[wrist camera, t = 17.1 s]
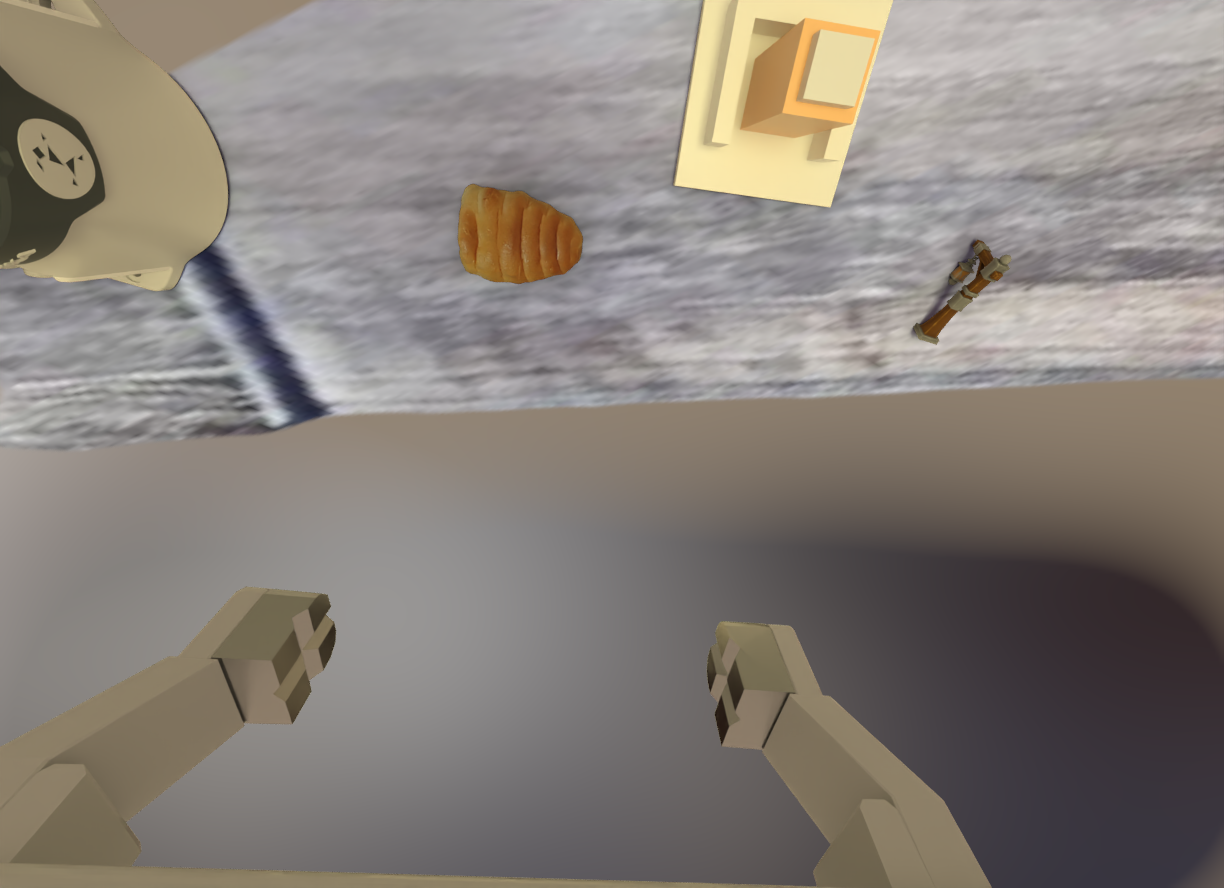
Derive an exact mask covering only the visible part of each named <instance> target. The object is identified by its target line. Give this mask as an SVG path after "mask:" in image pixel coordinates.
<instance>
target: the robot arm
mask: <svg viewBox="0 0 1224 888" xmlns="http://www.w3.org/2000/svg"><path fill="white" fill-rule="evenodd" d="M51 2H52V3H53V4H54V7H55V10H53V9H51ZM227 205H228V185H227V177H226V172H225V168H224V164H223V160H222V157H221V154H220V151H219V149H218V146H217V144H216V141H215V139H214V137H213V135H212V133H211V131H210V129H209V127H208V125H207V123H206V122H205V120H204V118H203V117H202V115H201V114H200V112H199V111H198V109H197V108H196V106H195V105H194V103H193V102H192V101H191V99H190V98H189V97H188V96H187V94H186V93H185V92H184V91H183V90H182V89H181V87H180V86H179V85H178V84H177V83H176V82H175V81H174V80H173V79H172V78H171V77H170V76H169V75H168V74H167V73H166V72H165V71H164V70H163V69H162V68H160V67H159V66H158V65H157V64H156V63H155V62H153V61H152V60H151V59H149V58H148V57H147V56H146V55H144V54H143V53H142V52H140V51H139V50H138V49H136V48H135V47H134V46H133V45H131V44H130V43H129V42H128V41H127V40H126V39H125V38H124V37H122V36H121V35H120V33H119V32H118V31H117V29H116V28H115V27H114V25H113V24H112V23H111V21H110V20H109V19H108V18H107V16H106V15H105V14H104V13H103V11H102V10H101V9H100V8H99V6H98V5H97V4H96V2H95V1H94V0H0V269H12V268H19V267H21V268H23V270H24V273H25V274H26V275H28V276H31V277H38V278H50V277H54V278H55V279H56V280H57V281H59V282H78V281H86V280H95V279H103V278H111V279H114V280H117V281H121V282H124V283H128V284H131V285H135V286H138V287H142V288H145V289H149V290H153V291H162V290H170V289H172V288H173V287H174V286H175V285H176V284H177V282H178V280H179V279H180V276H181V274H182V271H183V269H184V266H185V264H186V263H187V262H188V261H189V260H190V259H191V258H193V257H194V256H196V255H197V254H199V253H200V252H202V251H203V250H205V249H206V248H207V247H208V246H209V245H210V244H211V243H212V242H213V241H214V240H215V238H216V237H217V235H218V234H219V232H220V230H221V228H222V226H223V223H224V220H225V216H226V212H227ZM330 607H331V605H330V602H329V598H328V595H326V594H321V593H311V592H301V591H290V590H280V589H267V588H256V587H245V588H243V589H240V590H239V591H237V592H236V593H235V594H234V595H233V596H232V597H231V598H230V599H229V600H228V601H227V603H226V604H225V605H224V606H223V607H222V608H221V609H220V610H219V611H218V613H217V614H216V615H215V616H214V617H213V618H212V619H211V620H210V621H209V623H208V624H207V625H206V626H205V627H204V628H203V629H202V630H201V631H200V633H199V634H198V635H197V636H196V637H195V638H194V639H193V640H192V641H191V642H190V644H189V645H188V646H187V647H186V648H185V649H184V650H183V651H182V652H181V654H180V655H179V656H178V657H173V656H169V657H167V658H165V659H163V660H161V661H159V662H158V663H156V664H154V665H152V666H151V667H148V668H146V669H145V670H143V671H141V672H139V673H137V674H135V675H133V676H132V677H130V678H128V679H126V680H124V681H122V682H120V683H119V684H117V685H115V686H113V687H111V688H109V689H107V690H105V691H104V692H102V693H100V694H98V695H96V696H94V697H92V698H91V699H89V700H87V701H85V702H83V703H81V704H79V705H77V706H76V707H74V708H72V709H70V710H68V711H66V712H64V713H63V714H61V715H59V716H57V717H55V718H53V719H51V720H50V721H48V722H46V723H44V724H42V725H40V726H39V727H37V728H35V729H33V730H31V731H29V732H27V733H25V734H24V735H22V736H20V737H18V738H16V739H14V740H12V741H10V742H9V743H7V744H5V745H3V746H1V747H0V888H992V887H991V886H990V884H989V882H988V880H987V878H986V877H985V875H984V873H983V871H982V869H981V867H980V866H979V864H978V862H977V860H976V858H975V857H974V855H973V853H972V851H971V849H970V847H969V846H968V844H967V842H966V841H965V838H964V837H963V835H962V833H961V831H960V829H959V828H958V826H957V824H956V822H955V821H954V819H953V817H952V815H951V813H950V811H949V810H948V808H947V806H946V804H945V802H944V801H943V800H942V799H941V798H940V797H939V796H938V795H937V794H936V793H935V792H934V791H932V790H931V789H930V788H929V787H928V786H927V785H926V784H925V783H924V782H923V781H922V780H921V779H919V778H918V777H917V776H916V775H915V774H914V773H913V772H912V771H911V770H910V769H908V768H907V767H906V766H905V765H904V764H903V763H902V762H901V761H900V760H899V759H898V758H896V757H895V756H894V755H893V754H892V753H891V752H890V751H889V750H888V749H887V748H886V747H885V746H883V745H882V744H881V743H880V742H879V741H878V740H877V739H876V738H875V737H874V736H872V735H871V734H870V733H869V732H868V731H867V730H866V729H865V728H864V727H863V726H862V725H861V724H860V723H858V722H857V721H856V720H855V719H854V718H853V717H852V716H851V715H850V714H849V713H847V712H846V711H845V710H844V709H843V708H842V707H841V706H840V705H839V704H838V703H837V702H835V701H834V700H833V699H832V698H831V697H830V696H823V695H822V693H821V690H820V688H819V686H818V684H817V681H816V679H815V677H814V674H813V672H812V670H811V668H810V666H809V663H808V661H807V659H806V656H805V654H804V652H803V650H802V647H801V645H800V643H799V640H798V638H797V636H796V634H795V631H794V630H793V629H792V628H791V627H790V626H786V625H771V624H767V625H765V624H759V623H743V622H725V621H721V622H720V623H719V624H718V627H717V629H716V632H715V634H716V638H717V643H716V644H715V645H713V646H712V647H711V648H710V651H709V655H708V660H707V678H708V685H709V690H710V694H711V695H712V696H713V697H714V698H715V699H716V700H717V702H718V705H717V708H716V711H715V718H716V723H717V728H718V732H719V737H720V741H721V746H723V747H736V748H748V749H761V750H763V751H762V752H763V754H764V755H765V757H766V758H767V759H768V761H769V762H770V763H771V765H772V766H773V767H774V769H775V770H776V771H777V773H778V774H779V775H780V777H781V778H782V779H783V781H784V782H785V783H786V785H787V786H788V787H789V789H790V790H791V791H792V793H793V794H794V796H795V797H796V798H797V800H798V801H799V802H800V804H801V805H802V806H803V808H804V809H805V810H806V812H807V813H808V814H809V816H810V817H811V818H812V820H813V821H814V823H815V824H816V825H817V827H818V828H819V829H820V831H821V832H822V833H823V834H824V836H825V837H826V839H827V840H828V841H829V843H830V844H831V845H830V847H829V848H828V850H827V851H826V853H825V854H824V855H823V857H822V859H821V860H820V861H819V863H818V864H817V866H816V868H815V870H814V871H813V873H814V877H815V880H816V883H817V887H816V886H815V887H814V886H782V885H749V884H746V885H745V884H714V883H681V882H648V881H647V882H646V881H614V880H581V879H577V880H576V879H547V878H513V877H480V876H479V877H478V876H445V875H412V874H378V873H344V872H310V871H307V872H306V871H275V870H274V871H273V870H241V869H238V870H237V869H206V868H172V867H139V866H138V867H137V866H132V865H133V863H134V862H135V860H136V859H137V857H138V856H139V854H140V853H141V844H140V841H139V840H138V838H137V837H136V836H135V834H134V833H133V831H132V830H131V829H130V827H129V826H128V825H127V823H126V822H127V821H128V820H130V819H131V818H132V817H133V816H134V815H136V814H137V813H138V812H139V811H141V810H142V809H143V808H144V807H145V806H147V805H148V804H149V803H150V802H151V801H153V800H154V799H155V798H157V797H158V796H159V795H160V794H161V793H163V792H164V791H165V790H166V789H167V788H169V787H170V786H171V785H172V784H174V783H175V782H176V781H177V780H179V779H180V778H181V777H182V776H184V775H185V774H186V773H187V772H188V771H190V770H191V769H192V768H193V767H195V766H196V765H197V764H198V763H199V762H201V761H202V760H203V759H204V758H206V757H207V756H208V755H209V754H211V753H212V752H213V751H214V750H215V749H217V748H218V747H219V746H220V745H222V744H223V743H224V742H225V741H227V740H228V739H229V738H230V737H231V736H233V735H234V734H235V733H236V732H238V731H239V730H240V729H241V728H242V727H244V723H256V724H257V723H258V724H293V722H294V721H295V719H296V717H297V715H298V714H299V712H300V710H301V708H302V707H303V705H304V703H305V701H306V700H307V698H308V696H309V695H310V693H311V686H310V681H309V680H310V679H312V678H313V677H315V676H316V675H317V674H319V673H320V672H322V671H323V670H324V668H325V667H326V665H327V663H328V661H329V659H330V657H331V655H332V651H333V648H334V645H335V640H336V628H335V624H334V621H332V620H331V619H330V618H329V617H328V616H327V615H326V613H327V612H328V610H329V609H330Z"/></svg>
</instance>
